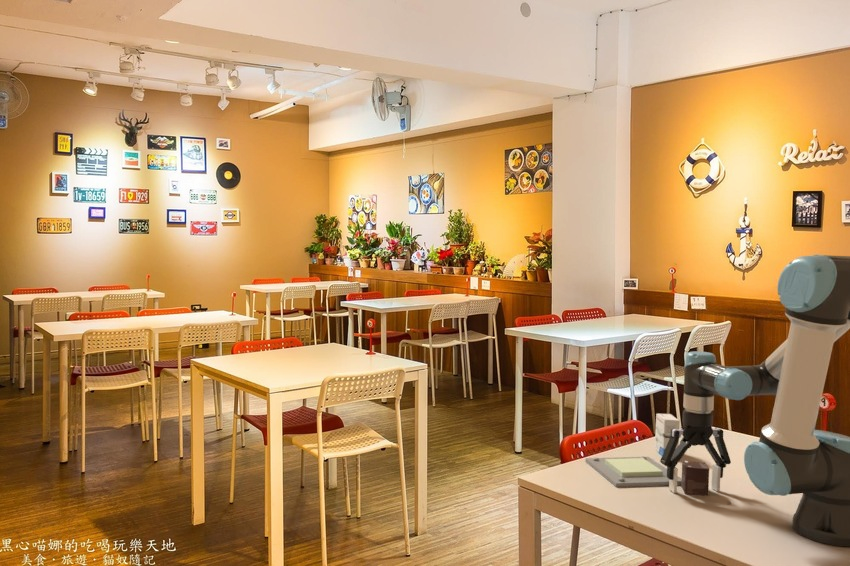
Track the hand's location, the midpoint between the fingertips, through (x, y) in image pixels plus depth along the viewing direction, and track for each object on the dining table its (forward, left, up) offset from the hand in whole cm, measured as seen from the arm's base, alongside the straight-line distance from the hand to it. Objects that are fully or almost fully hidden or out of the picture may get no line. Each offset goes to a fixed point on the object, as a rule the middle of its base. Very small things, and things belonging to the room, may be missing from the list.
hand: (694, 490), depth 189 cm
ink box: (+33, -9, 0) cm, 34 cm away
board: (+16, +10, 0) cm, 19 cm away
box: (0, 0, 0) cm, 1 cm away
